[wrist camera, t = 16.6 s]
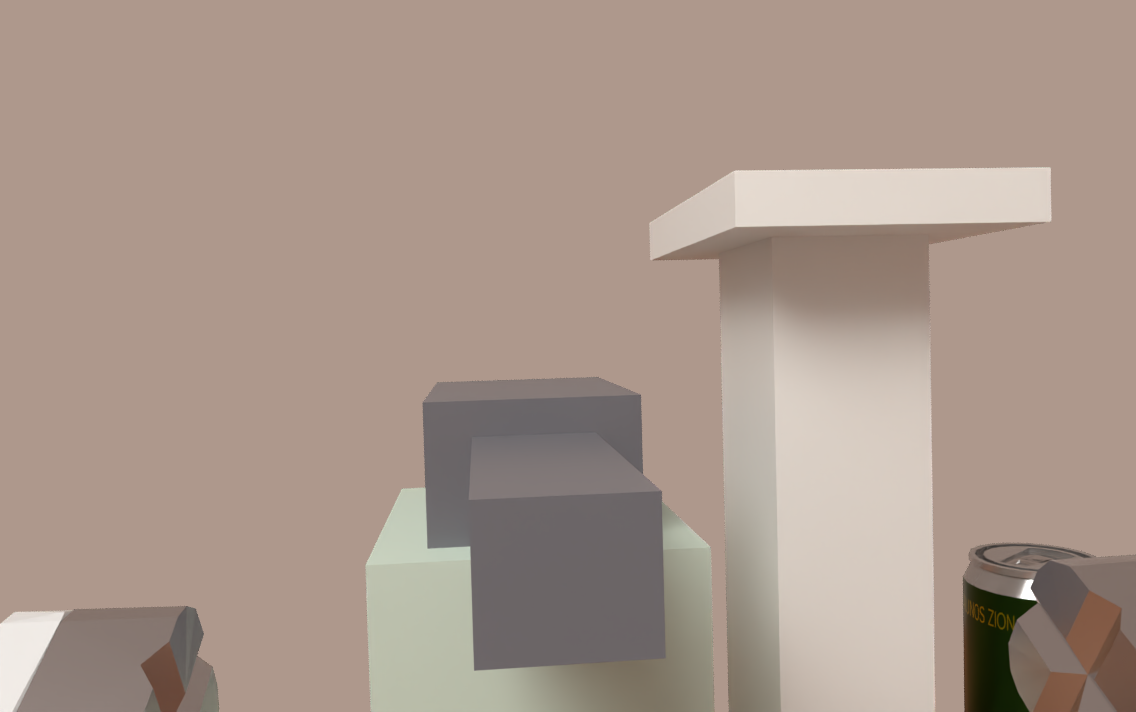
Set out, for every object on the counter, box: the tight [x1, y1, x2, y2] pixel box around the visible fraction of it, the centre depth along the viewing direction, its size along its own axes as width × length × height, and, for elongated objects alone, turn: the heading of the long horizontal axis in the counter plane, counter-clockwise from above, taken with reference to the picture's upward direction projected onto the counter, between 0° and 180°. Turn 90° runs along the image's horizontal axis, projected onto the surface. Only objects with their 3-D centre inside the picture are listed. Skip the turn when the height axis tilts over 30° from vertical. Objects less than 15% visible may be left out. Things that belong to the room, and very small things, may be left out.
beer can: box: [963, 543, 1096, 712], centre depth 37 cm, size 5×5×12 cm
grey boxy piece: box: [423, 377, 666, 671], centre depth 26 cm, size 20×6×4 cm, turn 6°
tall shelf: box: [649, 167, 1051, 712], centre depth 31 cm, size 9×12×26 cm
